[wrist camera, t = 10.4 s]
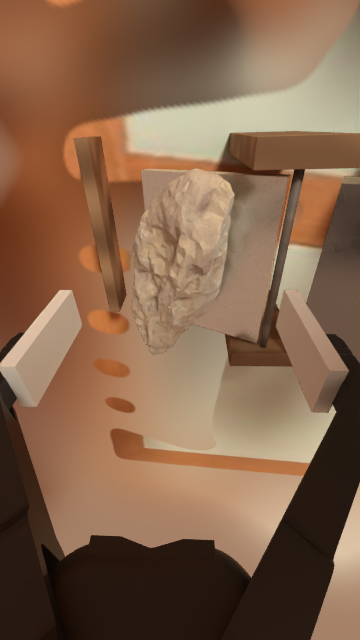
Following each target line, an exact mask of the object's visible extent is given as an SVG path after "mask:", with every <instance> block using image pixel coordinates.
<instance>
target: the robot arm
mask: <svg viewBox="0 0 360 640" xmlns="http://www.w3.org/2000/svg"><path fill="white" fill-rule="evenodd" d="M81 327H82V323H81V319H80V316H79V312H78V309H77V306H76V302H75V299H74V296H73V292H72V290H60V291H59V292H58V293H57V294H56V296H55V297H54V298H53V299H52V301H51V302H50V303H49V304H48V305H47V307H46V308H45V309H44V311H43V312H42V313H41V314H40V315H39V316H38V318H37V319H36V320H35V321H34V322H33V324H32V325H31V326H30V327H29V329H28V330H27V331H26V332H25V333H19V334H17V335H16V336H15V337H13V338H12V339H11V340H10V341H9V342H8V343H7V344H6V347H4V348H3V349H2V350H1V352H0V640H310V639H311V636H312V633H313V630H314V628H315V625H316V622H317V619H318V615H319V613H320V610H321V607H322V604H323V601H324V598H325V595H326V592H327V589H328V586H329V583H330V580H331V577H332V574H333V570H334V562H333V559H334V554H335V552H336V549H337V546H338V543H339V540H340V537H341V534H342V532H343V529H344V526H345V523H346V520H347V517H348V514H349V511H350V509H351V506H352V503H353V500H354V497H355V494H356V491H357V488H358V486H359V483H360V363H359V362H358V360H357V359H356V357H355V356H354V355H353V353H352V352H351V350H350V349H349V348H348V346H347V345H346V343H345V342H344V340H342V339H341V338H340V337H338V336H337V335H336V334H325V333H324V331H323V329H322V328H321V326H320V325H319V323H318V322H317V320H316V319H315V317H314V315H313V314H312V312H311V311H310V309H309V308H308V306H307V305H306V303H305V301H304V300H303V298H302V297H301V295H300V294H299V292H298V290H284V293H283V297H282V302H281V306H280V310H279V315H278V319H277V323H276V328H277V330H278V333H279V335H280V337H281V340H282V342H283V345H284V347H285V349H286V352H287V354H288V357H289V359H290V361H291V364H292V366H293V369H294V371H295V373H296V376H297V378H298V381H299V383H300V385H301V388H302V390H303V393H304V395H305V397H306V400H307V402H308V405H309V407H310V409H311V412H326V413H329V411H330V409H331V407H332V404H333V406H334V408H335V410H336V414H335V416H334V418H333V420H332V422H331V424H330V426H329V428H328V430H327V432H326V434H325V436H324V438H323V440H322V441H321V443H320V445H319V447H318V449H317V451H316V453H315V455H314V457H313V459H312V461H311V463H310V465H309V467H308V469H307V471H306V473H305V475H304V477H303V479H302V481H301V483H300V484H299V486H298V488H297V490H296V492H295V494H294V496H293V498H292V500H291V502H290V504H289V506H288V508H287V510H286V512H285V514H284V516H283V518H282V520H281V522H280V523H279V525H278V527H277V529H276V531H275V533H274V535H273V537H272V539H271V541H270V543H269V545H268V547H267V549H266V551H265V553H264V555H263V556H262V558H261V561H260V562H259V564H258V566H257V568H256V570H255V572H254V574H253V576H252V578H251V577H250V576H249V574H248V573H247V572H246V571H245V570H244V568H243V567H242V566H241V565H240V564H239V563H238V562H237V561H235V560H234V559H233V558H232V557H230V556H229V555H227V554H226V553H224V552H222V551H220V550H217V549H215V546H214V540H194V539H182V540H179V541H175V542H172V543H168V544H165V545H162V546H158V547H155V548H149V547H146V546H143V545H141V544H138V543H136V542H133V541H131V540H128V539H126V538H123V537H120V536H98V535H92V536H91V538H90V542H89V544H88V545H85V546H83V547H81V548H78V549H77V550H75V551H74V552H72V553H70V554H69V555H67V556H66V557H65V555H64V553H63V551H62V548H61V546H60V545H59V542H58V540H57V538H56V535H55V533H54V529H53V526H52V523H51V520H50V517H49V514H48V511H47V508H46V505H45V502H44V498H43V495H42V492H41V489H40V486H39V483H38V480H37V477H36V474H35V471H34V468H33V464H32V462H31V458H30V455H29V452H28V449H27V446H26V443H25V440H24V437H23V433H22V431H21V427H20V424H19V421H18V418H17V415H16V412H15V409H14V408H13V406H12V405H13V403H14V402H15V401H16V399H17V400H18V402H19V404H20V405H21V406H22V407H37V405H38V403H39V401H40V400H41V398H42V396H43V394H44V393H45V391H46V389H47V387H48V385H49V384H50V382H51V380H52V378H53V376H54V375H55V373H56V371H57V369H58V367H59V366H60V364H61V362H62V361H63V359H64V357H65V355H66V353H67V352H68V350H69V348H70V346H71V344H72V343H73V341H74V339H75V337H76V336H77V334H78V332H79V330H80V328H81Z"/></svg>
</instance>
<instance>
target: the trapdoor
mask: <svg viewBox="0 0 360 640" xmlns="http://www.w3.org/2000/svg"><path fill="white" fill-rule="evenodd" d="M187 171H188V170H167V169H145V170H141V174H142V184H143V195H144V204H145V211H147V210H148V209H149V206H150V205H151V203H152V202H153V200H154V199H156V198H157V197H158V195H159V194H160V193H161V192H162V191H163V190H164V188H165V187H166V186H167V185H168V183H170V182H172V181H173V180H175V179H176V178H178V177H180V176H183V175H185V173H186V172H187ZM207 172H211V173H212V174H218V175H219V176H222V178H223V179H224V180H226V181H227V182H229V183H230V185H231V188H232V191H233V192H234V194H235V195H234V201H233V206H232V209H231V214H230V219H231V223H230V227H229V230H228V240H227V254H226V259H225V264H224V271H223V276H222V282H221V286H220V288H219V289H220V291H219V293H218V295H217V297H216V298H215V300H214V301H213V302H212V304H211V305H210V307H209V309H208V312H206V313H205V314H204V315H202V316H201V317H200V318H199V319H196V320H195V322H194V323H193V324H194V325H197V326H200V327H204V328H207V329H210V330H214V331H218V332H221V333H224V334H227V335H231V336H234V337H237V338H241V339H244V340H247V341H251V342H254V343H257V342H258V340H259V338H260V333H261V328H262V323H263V318H264V313H265V308H266V302H267V297H268V292H269V287H270V282H271V277H272V272H273V266H274V261H275V256H276V251H277V246H278V241H279V235H280V230H281V225H282V220H283V215H284V209H285V204H286V199H287V194H288V189H289V184H290V179H291V175H285V174H261V173H238V172H214V171H207ZM306 305H307V306H308V308H309V309H310V311H311V312H312V314H313V315H314V317H315V319H316V320H317V322H318V323H319V325H320V326H321V328H322V329H323V331H324V333H325V334H336V335H337V336H338V337H340V338H341V339H342V340H344V342H345V343H346V345H347V346H348V348H349V349H350V350H351V352H352V353H353V355H354V356H355V357H356V359H357V360H358V362H359V363H360V177H354V176H344V179H343V182H342V185H341V189H340V192H339V195H338V199H337V202H336V205H335V209H334V212H333V216H332V219H331V222H330V226H329V229H328V232H327V236H326V239H325V242H324V246H323V249H322V253H321V256H320V259H319V263H318V266H317V269H316V273H315V276H314V279H313V283H312V286H311V290H310V293H309V296H308V300H307V303H306Z"/></svg>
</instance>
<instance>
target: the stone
mask: <svg viewBox="0 0 360 640" xmlns="http://www.w3.org/2000/svg"><path fill="white" fill-rule="evenodd" d="M234 195H235V194H234V192H233V191H232V188H231V185H230V183H229V182H227V181H226V180H224V179H223V178H222V176H219V175H218V174H212V173H211V172H207V171H204V170H200V169H196V168H194V169H191V170H188V171H187V172H186V173H185V175H183V176H180V177H178V178H176V179H175V180H173V181H172V182H170V183H168V185H167V186H166V187H165V188H164V190H163V191H162V192H161V193H160V194H159V195H158V197H157V198H156V199H154V200H153V202H152V203H151V205H150V206H149V209H148V210H147V211H145V212H144V214H143V216H142V217H141V221H140V226H139V228H138V230H137V234H136V236H135V243H134V246H133V251H132V255H133V257H134V262H135V263H134V266H135V272H134V277H135V279H134V284H133V291H134V294H133V301H132V303H133V306H132V312H133V314H134V318H135V321H136V324H137V327H138V329H139V330H140V332H141V334H142V337H143V339H144V341H145V343H146V344H147V345H148V346H150V347H149V351H150V352H151V353H152V354H153V355H155V354H159V353H164V352H167V349H168V348H170V347H172V346H173V345H174V344H175V342H176V340H177V339H178V338H179V336H180V334H182V333H183V332H184V331H186V330H187V329H188V327H189V326H190V325H192V324H193V323H194V322H195V320H196V319H199V318H200V317H201V316H202V315H204V314H205V313H206V312H208V309H209V307H210V305H211V304H212V302H213V301H214V300H215V298H216V297H217V295H218V293H219V291H220V289H219V288H220V286H221V282H222V276H223V271H224V264H225V259H226V254H227V240H228V230H229V227H230V223H231V219H230V214H231V209H232V206H233V201H234Z"/></svg>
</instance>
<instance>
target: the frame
mask: <svg viewBox="0 0 360 640" xmlns="http://www.w3.org/2000/svg"><path fill="white" fill-rule="evenodd" d="M74 143H75V148H76V153H77V157H78V162H79V167H80V171H81V176H82V181H83V186H84V190H85V195H86V200H87V205H88V209H89V214H90V218H91V223H92V228H93V233H94V237H95V242H96V247H97V252H98V257H99V261H100V266H101V271H102V275H103V280H104V285H105V290H106V294H107V299H108V304H109V308H110V311H120V310H121V307H122V305H123V302H124V300H125V297H126V290H125V284H124V277H123V271H122V265H121V259H120V252H119V246H118V240H117V234H116V228H115V222H114V216H113V209H112V203H111V198H110V191H109V185H108V178H107V172H106V166H105V160H104V154H103V147H102V141H101V137H83V138H74ZM229 153H230V154H231V155H233V156H234V157H235V158H237V159H238V160H240V161H241V162H242V163H244V164H245V165H247V166H248V167H249V168H251V169H252V170H286V169H294V174H293V179H292V184H291V189H290V194H289V200H288V204H287V209H286V215H285V220H284V225H283V230H282V235H281V240H280V245H279V250H278V255H277V260H276V265H275V270H274V275H273V280H272V285H271V290H269V292H268V297H267V302H266V308H265V313H264V318H263V323H262V328H261V333H260V338H259V340H258V342H257V343H254V342H251V341H247V340H244V339H241V338H237V337H234V336H231V335H227V334H225V337H226V344H227V349H228V357H229V363H230V366H292V364H291V361H290V359H289V357H288V354H287V352H286V349H285V347H284V345H283V342H282V340H281V337H280V335H279V333H278V330H277V328H276V323H277V319H278V315H279V309H278V307H277V305H276V300H277V295H278V291H279V286H280V281H281V277H282V272H283V268H284V263H285V259H286V254H287V249H288V245H289V240H290V236H291V231H292V227H293V222H294V217H295V213H296V208H297V204H298V199H299V194H300V190H301V185H302V181H303V176H304V172H305V169H333V168H359V167H360V134H358V133H330V132H302V131H286V132H250V133H230V146H229Z"/></svg>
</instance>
